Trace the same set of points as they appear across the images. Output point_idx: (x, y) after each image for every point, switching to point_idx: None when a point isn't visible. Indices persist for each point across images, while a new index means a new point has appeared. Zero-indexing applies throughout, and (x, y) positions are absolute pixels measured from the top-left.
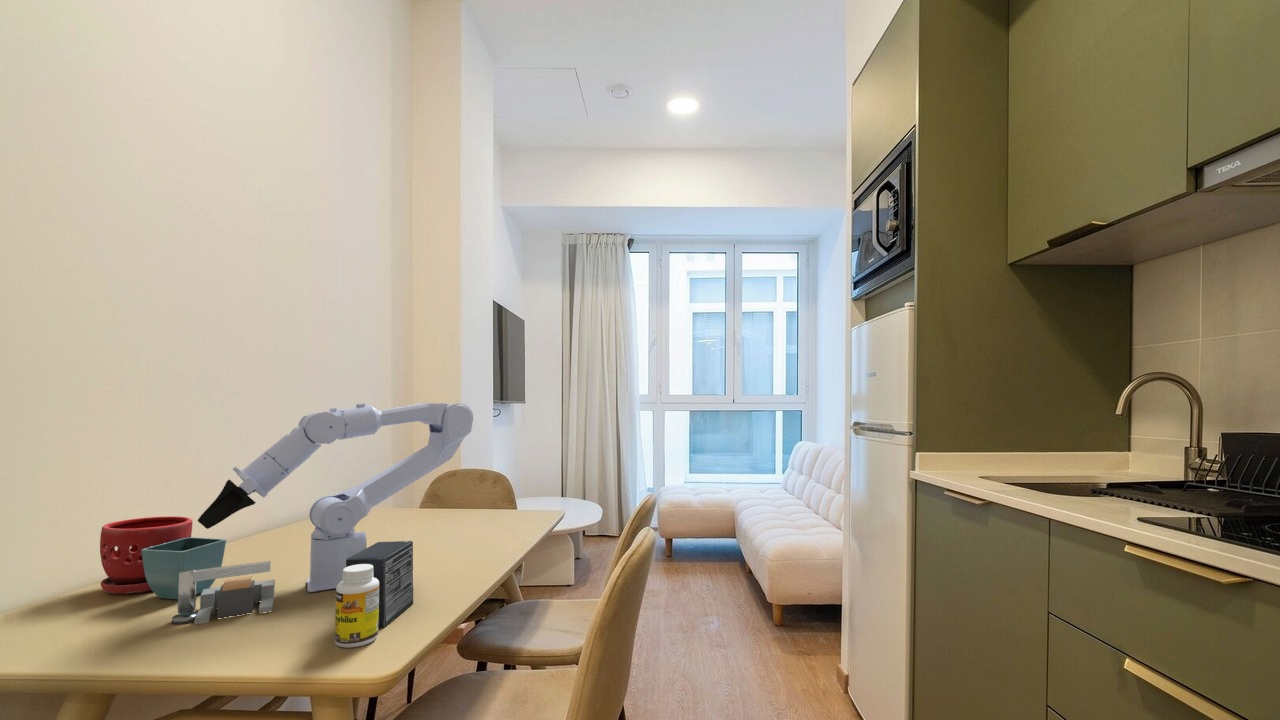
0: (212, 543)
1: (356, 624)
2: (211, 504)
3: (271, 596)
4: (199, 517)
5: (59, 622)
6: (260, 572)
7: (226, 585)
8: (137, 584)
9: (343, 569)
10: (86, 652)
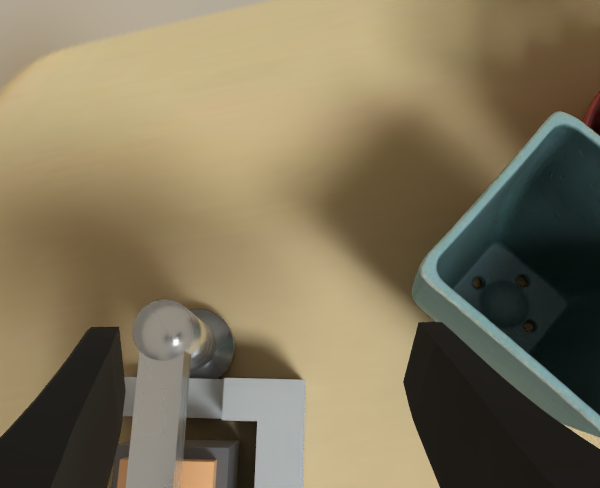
0: (545, 383)
1: None
2: (25, 414)
3: None
4: (83, 337)
5: (382, 52)
6: None
7: (119, 473)
8: None
9: None
10: (72, 160)
